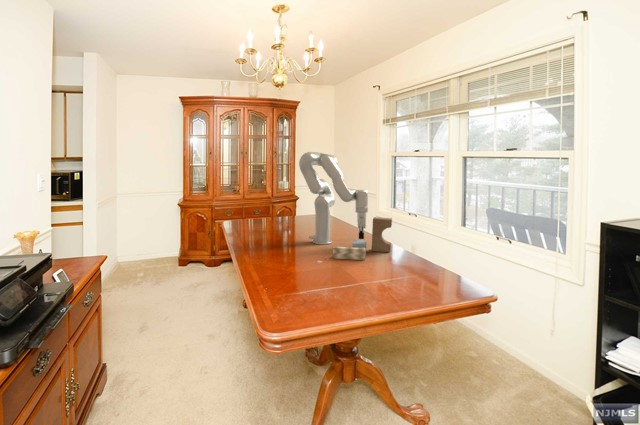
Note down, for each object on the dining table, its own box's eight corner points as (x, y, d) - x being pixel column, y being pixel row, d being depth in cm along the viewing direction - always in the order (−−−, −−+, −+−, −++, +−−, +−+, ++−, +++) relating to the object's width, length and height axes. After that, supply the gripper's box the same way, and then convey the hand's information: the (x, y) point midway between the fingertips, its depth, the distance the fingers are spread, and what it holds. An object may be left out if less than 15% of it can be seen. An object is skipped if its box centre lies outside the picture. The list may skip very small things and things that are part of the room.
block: (352, 253, 214) (352, 243, 214) (353, 249, 222) (353, 240, 221) (365, 253, 213) (366, 243, 212) (366, 250, 221) (366, 240, 220)
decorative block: (390, 250, 221) (392, 218, 218) (390, 252, 215) (391, 219, 212) (372, 248, 224) (373, 217, 221) (371, 251, 218) (372, 218, 215)
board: (332, 258, 203) (332, 247, 202) (333, 256, 206) (333, 246, 205) (365, 260, 200) (365, 249, 199) (365, 258, 203) (365, 248, 202)
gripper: (367, 211, 216) (367, 241, 219) (368, 208, 231) (367, 236, 234) (354, 211, 217) (354, 241, 220) (356, 208, 232) (356, 236, 235)
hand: (361, 238), depth 227 cm, fingers closed
